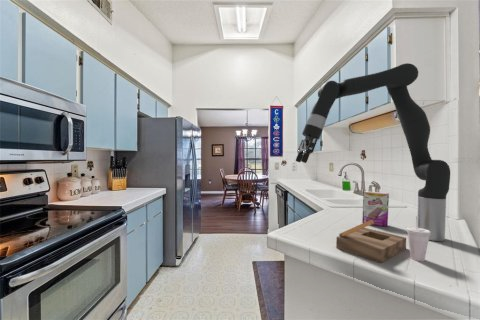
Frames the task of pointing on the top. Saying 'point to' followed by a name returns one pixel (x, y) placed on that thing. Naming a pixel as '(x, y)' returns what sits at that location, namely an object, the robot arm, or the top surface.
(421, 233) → the smoothie
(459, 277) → the top surface
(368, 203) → the candy bar box
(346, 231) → the bar
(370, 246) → the socket block
